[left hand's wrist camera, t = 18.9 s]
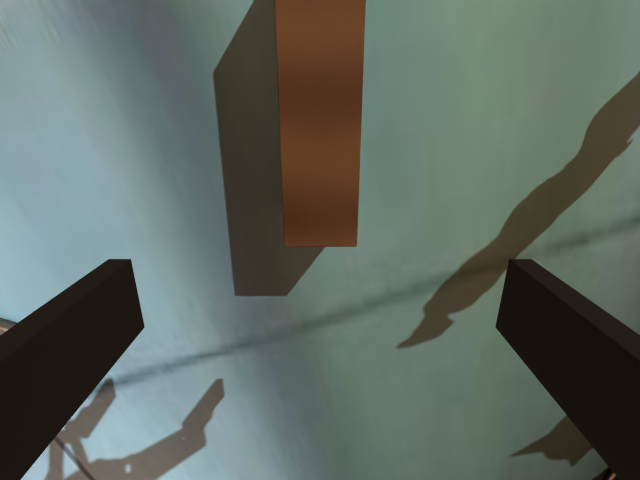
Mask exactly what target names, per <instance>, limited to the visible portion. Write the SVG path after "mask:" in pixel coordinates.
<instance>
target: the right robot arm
mask: <svg viewBox="0 0 640 480" xmlns="http://www.w3.org/2000/svg"><path fill="white" fill-rule="evenodd" d="M604 480H619V478H618V477H617V476H616V475H615V473H614V472H613V471H612V470H610V471H609V472H608V473H607V475H606V476H605V478H604Z"/></svg>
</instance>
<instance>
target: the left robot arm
mask: <svg viewBox="0 0 640 480" xmlns="http://www.w3.org/2000/svg"><path fill="white" fill-rule="evenodd" d="M143 328H144V322H143V317H142V313H141V308H140V303H139V298H138V293H137V288H136V283H135V278H134V273H133V268H132V263H131V259H108V260H107V261H106V262H104V263H103V264H101V265H100V266H98V267H97V268H96V269H94V270H93V271H91V272H90V273H88V274H87V275H86V276H84V277H83V278H81V279H80V280H78V281H77V282H76V283H74V284H73V285H71V286H70V287H68V288H67V289H66V290H64V291H63V292H61V293H60V294H58V295H57V296H56V297H54V298H53V299H51V300H50V301H48V302H47V303H46V304H44V305H43V306H41V307H40V308H38V309H37V310H36V311H34V312H33V313H31V314H30V315H28V316H27V317H26V318H24V319H23V320H21V321H20V322H18V323H16V322H13V321H10V320H6V319H2V318H0V480H21V478H22V477H23V476H24V475H25V473H26V472H27V471H28V470H29V468H30V467H31V466H32V465H33V464H34V462H35V461H36V460H37V459H38V457H39V456H40V455H41V454H42V453H43V451H44V450H45V449H46V448H47V446H48V445H49V444H50V443H51V441H52V440H53V439H54V438H55V437H56V435H57V434H58V433H59V432H60V430H61V429H62V428H63V427H64V425H65V424H66V423H67V422H68V421H69V419H70V418H71V417H72V416H73V414H74V413H75V412H76V411H77V409H78V408H79V407H80V406H81V405H82V403H83V402H84V401H85V400H86V398H87V397H88V396H89V395H90V393H91V392H92V391H93V390H94V389H95V387H96V386H97V385H98V384H99V382H100V381H101V380H102V379H103V378H104V376H105V375H106V374H107V373H108V371H109V370H110V369H111V368H112V366H113V365H114V364H115V363H116V362H117V360H118V359H119V358H120V357H121V355H122V354H123V353H124V352H125V350H126V349H127V348H128V347H129V346H130V344H131V343H132V342H133V341H134V339H135V338H136V337H137V336H138V334H139V333H140V332H141V331H142V330H143ZM496 328H497V330H498V331H499V332H500V333H501V334H502V336H503V337H504V338H505V339H506V341H507V342H508V343H509V344H510V346H511V347H512V348H513V349H514V350H515V352H516V353H517V354H518V355H519V357H520V358H521V359H522V360H523V362H524V363H525V364H526V365H527V366H528V368H529V369H530V370H531V371H532V373H533V374H534V375H535V376H536V378H537V379H538V380H539V381H540V382H541V384H542V385H543V386H544V387H545V389H546V390H547V391H548V392H549V393H550V395H551V396H552V397H553V398H554V400H555V401H556V402H557V403H558V405H559V406H560V407H561V408H562V409H563V411H564V412H565V413H566V414H567V416H568V417H569V418H570V419H571V421H572V422H573V423H574V424H575V425H576V427H577V428H578V429H579V430H580V432H581V433H582V434H583V435H584V437H585V438H586V439H587V440H588V441H589V443H590V444H591V445H592V446H593V448H594V449H595V450H596V451H597V453H598V454H599V455H600V456H601V457H602V459H603V460H604V461H605V462H606V464H607V465H608V466H609V467H610V468H611V470H612V471H613V472H614V473H615V475H616V476H617V477H618V478H619V480H640V335H639V334H637V333H636V332H634V331H633V330H632V329H630V328H629V327H627V326H626V325H624V324H623V323H622V322H620V321H619V320H617V319H616V318H614V317H613V316H612V315H610V314H609V313H607V312H606V311H604V310H603V309H602V308H600V307H599V306H597V305H596V304H594V303H593V302H592V301H590V300H589V299H587V298H586V297H584V296H583V295H582V294H580V293H579V292H577V291H576V290H574V289H573V288H572V287H570V286H569V285H567V284H566V283H564V282H563V281H562V280H560V279H559V278H557V277H556V276H554V275H553V274H552V273H550V272H549V271H547V270H546V269H544V268H543V267H542V266H540V265H539V264H537V263H536V262H534V261H533V260H532V259H509V263H508V268H507V273H506V278H505V283H504V288H503V293H502V298H501V303H500V308H499V312H498V317H497V322H496Z"/></svg>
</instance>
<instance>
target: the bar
mask: <svg viewBox="0 0 640 480" xmlns="http://www.w3.org/2000/svg"><path fill="white" fill-rule="evenodd" d="M274 1H275V25H276V50H277V75H278V99H279V124H280V149H281V173H282V198H283V223H284V246H285V247H356V246H357V227H358V199H359V171H360V143H361V115H362V87H363V59H364V31H365V2H366V0H274Z"/></svg>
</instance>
